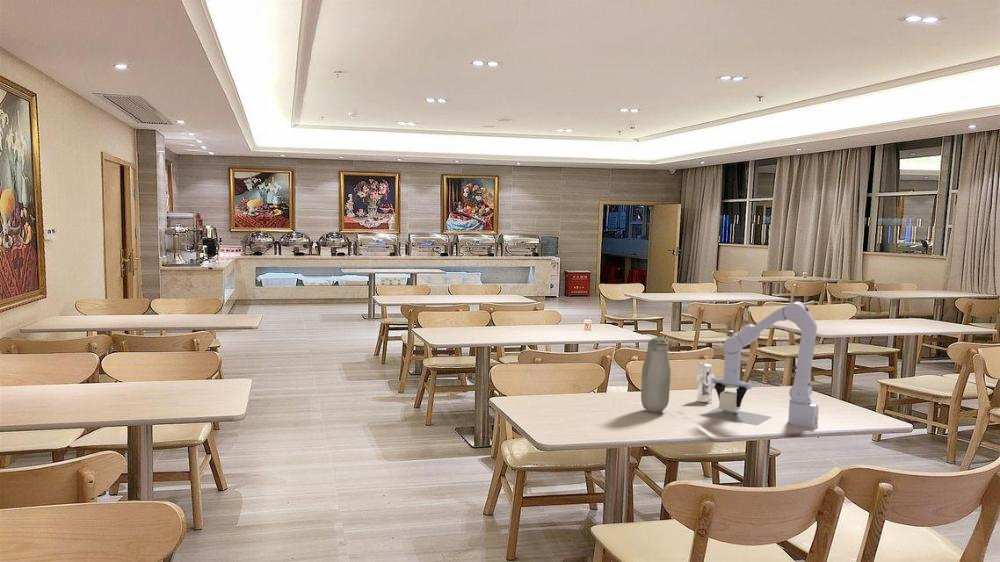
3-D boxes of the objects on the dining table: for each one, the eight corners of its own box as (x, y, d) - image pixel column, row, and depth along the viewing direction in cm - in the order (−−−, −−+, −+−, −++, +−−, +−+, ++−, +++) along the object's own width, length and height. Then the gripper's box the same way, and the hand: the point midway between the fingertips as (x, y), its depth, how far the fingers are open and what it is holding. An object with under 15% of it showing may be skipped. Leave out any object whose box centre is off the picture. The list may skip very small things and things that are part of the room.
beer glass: (699, 398, 297) (701, 362, 296) (716, 401, 293) (718, 364, 292) (692, 401, 292) (694, 364, 291) (708, 404, 287) (711, 366, 286)
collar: (740, 409, 271) (741, 393, 270) (734, 411, 266) (735, 395, 266) (724, 406, 274) (725, 390, 274) (719, 409, 270) (719, 393, 269)
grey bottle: (657, 416, 266) (660, 340, 264) (635, 410, 274) (638, 336, 272) (673, 412, 272) (677, 338, 270) (652, 407, 280) (655, 334, 278)
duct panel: (772, 420, 266) (772, 416, 266) (757, 428, 253) (757, 425, 253) (718, 410, 278) (719, 407, 278) (702, 418, 266) (702, 414, 265)
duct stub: (735, 415, 271) (736, 401, 270) (732, 417, 268) (733, 403, 268) (726, 413, 273) (727, 400, 273) (722, 415, 270) (723, 401, 270)
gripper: (755, 370, 268) (753, 406, 269) (717, 364, 277) (715, 400, 278) (748, 373, 262) (746, 410, 263) (709, 367, 271) (707, 403, 272)
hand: (729, 405), depth 270 cm, fingers closed on collar, 6 cm apart
